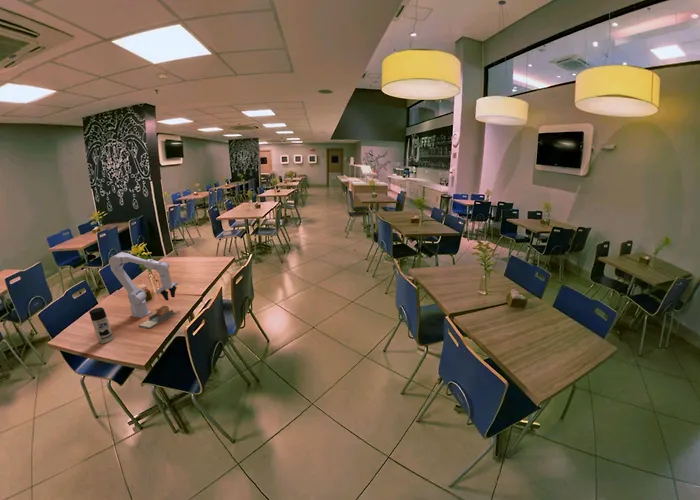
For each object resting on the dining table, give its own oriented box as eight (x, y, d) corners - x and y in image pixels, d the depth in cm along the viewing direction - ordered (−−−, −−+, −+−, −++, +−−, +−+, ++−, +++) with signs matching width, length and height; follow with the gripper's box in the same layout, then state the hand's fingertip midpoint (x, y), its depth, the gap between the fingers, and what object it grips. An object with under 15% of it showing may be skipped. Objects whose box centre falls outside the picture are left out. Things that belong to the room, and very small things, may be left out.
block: (157, 316, 190) (155, 308, 189) (164, 312, 195) (162, 305, 193) (163, 317, 189) (161, 309, 187) (169, 313, 194) (168, 306, 192)
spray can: (101, 345, 163) (91, 314, 157) (97, 341, 167) (86, 310, 161) (115, 339, 169) (106, 308, 163) (110, 335, 172) (101, 305, 166)
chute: (138, 326, 181) (137, 322, 180) (164, 312, 197) (163, 308, 196) (149, 328, 178) (148, 324, 177) (174, 314, 195) (173, 310, 194)
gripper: (160, 285, 184) (165, 304, 188) (179, 276, 197) (183, 294, 201) (152, 284, 186) (157, 302, 190) (171, 275, 199) (175, 293, 203)
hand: (170, 298), depth 196 cm, fingers open, 4 cm apart
